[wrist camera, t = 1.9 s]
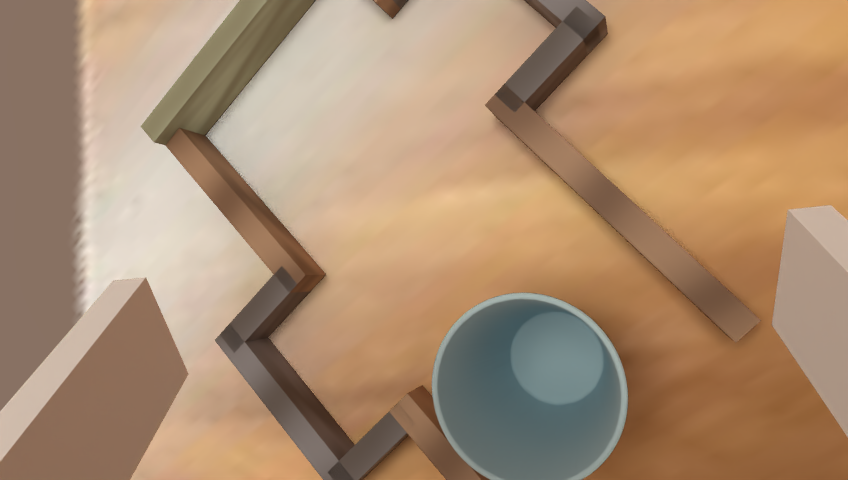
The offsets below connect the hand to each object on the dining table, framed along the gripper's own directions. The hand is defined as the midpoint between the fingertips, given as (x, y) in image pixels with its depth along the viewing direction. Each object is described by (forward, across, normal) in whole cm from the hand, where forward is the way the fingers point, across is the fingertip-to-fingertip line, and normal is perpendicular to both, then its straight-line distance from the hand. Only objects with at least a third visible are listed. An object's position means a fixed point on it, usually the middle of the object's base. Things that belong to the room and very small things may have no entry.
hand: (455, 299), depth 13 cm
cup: (+16, +3, -16) cm, 23 cm away
